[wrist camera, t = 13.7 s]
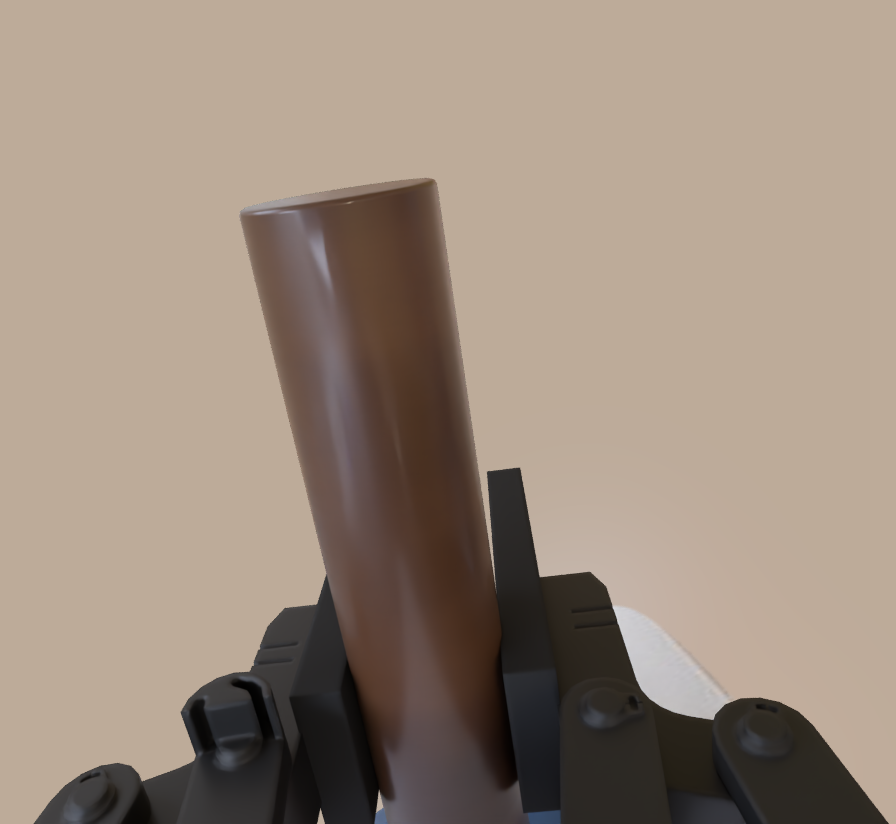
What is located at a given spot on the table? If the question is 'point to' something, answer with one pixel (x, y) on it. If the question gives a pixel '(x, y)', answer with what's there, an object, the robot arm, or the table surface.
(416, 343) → the muddler
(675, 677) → the table surface
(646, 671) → the table surface
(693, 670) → the table surface
